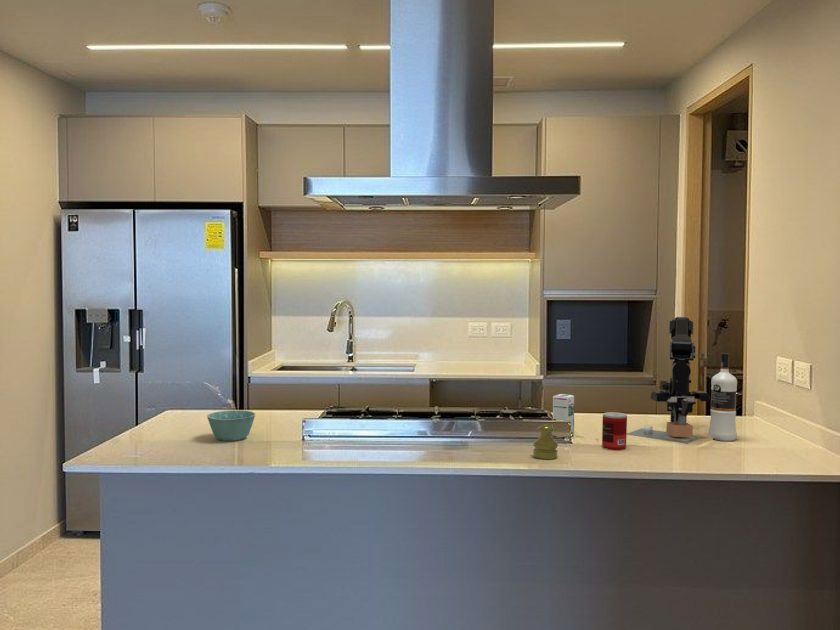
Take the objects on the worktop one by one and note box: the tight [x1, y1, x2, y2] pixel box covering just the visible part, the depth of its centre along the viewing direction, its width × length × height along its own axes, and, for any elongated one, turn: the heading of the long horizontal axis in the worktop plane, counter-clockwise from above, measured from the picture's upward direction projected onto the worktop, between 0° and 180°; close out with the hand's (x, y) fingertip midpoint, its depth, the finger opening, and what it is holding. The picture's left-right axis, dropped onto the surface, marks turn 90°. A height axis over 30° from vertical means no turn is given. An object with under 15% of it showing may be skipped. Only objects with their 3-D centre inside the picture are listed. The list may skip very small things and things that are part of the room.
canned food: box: [601, 411, 628, 451], centre depth 243 cm, size 8×8×11 cm
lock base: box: [627, 425, 703, 445], centre depth 258 cm, size 14×22×4 cm, turn 50°
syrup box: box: [552, 393, 575, 437], centre depth 260 cm, size 6×6×14 cm
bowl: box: [206, 409, 256, 442], centre depth 249 cm, size 16×16×8 cm
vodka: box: [707, 352, 738, 442], centre depth 258 cm, size 9×9×30 cm
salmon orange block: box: [665, 414, 694, 437], centre depth 254 cm, size 6×6×7 cm
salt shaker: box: [532, 424, 559, 460], centre depth 229 cm, size 7×7×10 cm
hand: (679, 421), depth 255 cm, fingers closed on salmon orange block
